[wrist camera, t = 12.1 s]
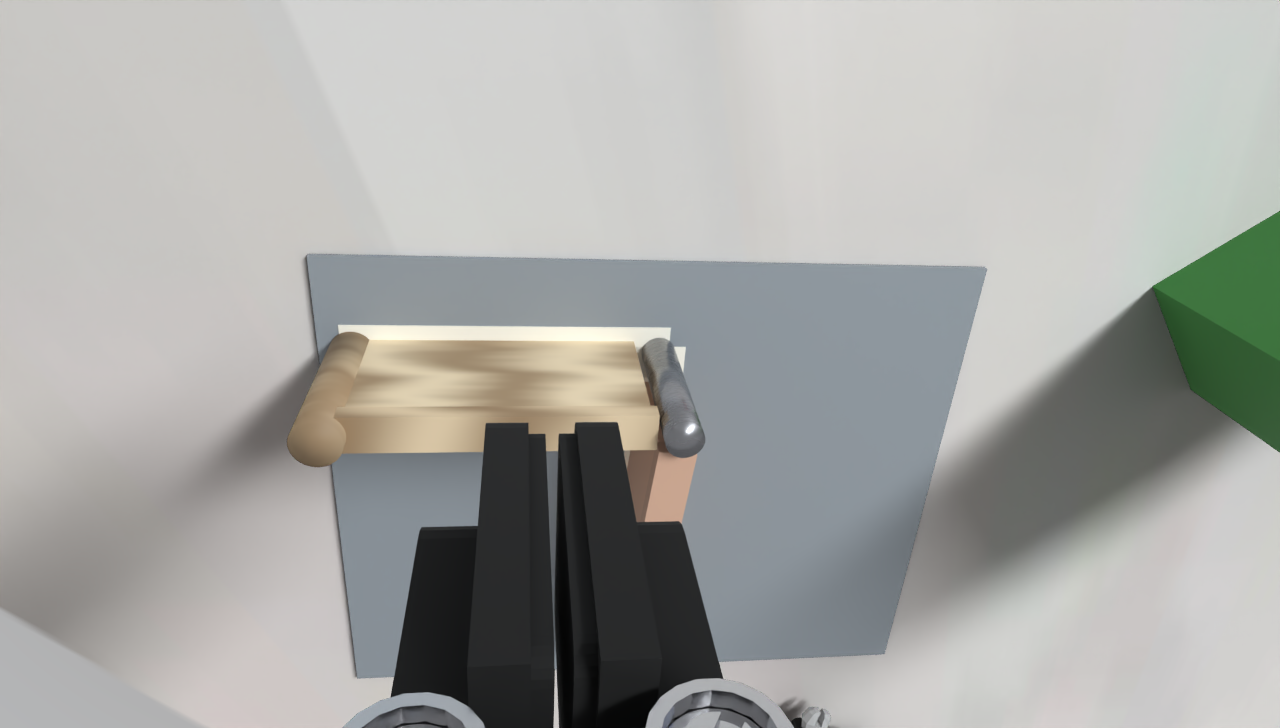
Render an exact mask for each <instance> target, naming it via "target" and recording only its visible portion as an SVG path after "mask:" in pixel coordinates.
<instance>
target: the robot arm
mask: <svg viewBox="0 0 1280 728" xmlns="http://www.w3.org/2000/svg"><path fill="white" fill-rule="evenodd" d="M554 614H555V641H556V663H557V686H558V709H559V728H794V727H793V725H792V723H791V722H790V721H789V719H788V718H787V716H786V715H785V714H784V712H783V711H782V709H781V708H780V707H779V706H778V705H777V704H775V703H774V702H773V701H772V700H771V699H769V698H768V697H767V696H766V695H764V694H763V693H762V692H760V691H758V690H755V689H753V688H751V687H749V686H747V685H745V684H743V683H740V682H735V681H730V680H725V679H723V676H722V672H721V669H720V665H719V661H718V657H717V653H716V650H715V646H714V642H713V638H712V634H711V630H710V627H709V623H708V619H707V615H706V611H705V608H704V604H703V600H702V596H701V592H700V588H699V585H698V581H697V577H696V573H695V569H694V566H693V562H692V558H691V554H690V550H689V546H688V543H687V539H686V535H685V532H684V529H683V526H682V524H681V523H680V522H679V521H665V522H637V521H636V516H635V510H634V505H633V500H632V494H631V489H630V484H629V478H628V473H627V468H626V462H625V457H624V452H623V446H622V441H621V435H620V430H619V425H618V423H617V422H575V429H574V433H563V434H559V437H558V472H557V512H556V552H555V592H554ZM554 676H555V665H554V626H553V602H552V578H551V554H550V530H549V506H548V482H547V458H546V435H545V434H529V423H486V425H485V437H484V451H483V464H482V477H481V490H480V503H479V516H478V526H448V527H421V529H420V531H419V536H418V541H417V546H416V552H415V558H414V564H413V570H412V576H411V581H410V587H409V593H408V599H407V605H406V611H405V617H404V622H403V628H402V634H401V640H400V646H399V652H398V657H397V663H396V669H395V675H394V681H393V687H392V692H391V698H387V699H384V700H381V701H379V702H377V703H375V704H373V705H371V706H370V707H368V708H366V709H364V710H363V711H361V712H359V713H357V714H356V715H355V716H354V717H353V718H352V719H351V720H350V721H349V722H348V723H347V724H346V725H345V726H344V727H343V728H553V720H554Z"/></svg>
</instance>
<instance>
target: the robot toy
mask: <svg viewBox="0 0 1280 728" xmlns="http://www.w3.org/2000/svg"><path fill="white" fill-rule="evenodd" d="M830 720H831V715H830V714H829V712H828V711H827V710H826V709H823V708H822V709H821V710H820V711H819V708H818V707H809V708H808V709H807V710H806V711H805V712H804V713H803V714H802V718H795V719H793V721H792V722H791V723H792V725H793V727H794V728H828V725H829V722H830Z"/></svg>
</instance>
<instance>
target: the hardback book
mask: <svg viewBox="0 0 1280 728" xmlns="http://www.w3.org/2000/svg"><path fill="white" fill-rule="evenodd" d="M1153 289H1154V292H1155V295H1156V297H1157V300H1158V303H1159V305H1160V308H1161V311H1162V313H1163V316H1164V319H1165V321H1166V324H1167V327H1168V330H1169V332H1170V335H1171V338H1172V340H1173V343H1174V346H1175V348H1176V351H1177V354H1178V356H1179V359H1180V362H1181V364H1182V367H1183V370H1184V373H1185V375H1186V378H1187V381H1188V383H1189V386H1190V389H1191V390H1192V391H1193V392H1195V393H1196V394H1198V395H1199V396H1200V397H1202V398H1203V399H1205V400H1206V401H1208V402H1209V403H1210V404H1212V405H1213V406H1215V407H1216V408H1217V409H1219V410H1220V411H1222V412H1223V413H1225V414H1226V415H1227V416H1229V417H1230V418H1232V419H1233V420H1234V421H1236V422H1237V423H1239V424H1240V425H1242V426H1243V427H1244V428H1246V429H1247V430H1249V431H1250V432H1251V433H1253V434H1254V435H1256V436H1257V437H1258V438H1260V439H1261V440H1263V441H1264V442H1266V443H1267V444H1268V445H1270V446H1271V447H1273V448H1274V449H1275V450H1277V451H1278V452H1280V211H1279V212H1277V213H1276V214H1274V215H1272V216H1271V217H1269V218H1267V219H1266V220H1264V221H1262V222H1260V223H1259V224H1257V225H1255V226H1254V227H1252V228H1250V229H1249V230H1247V231H1245V232H1244V233H1242V234H1240V235H1238V236H1237V237H1235V238H1233V239H1232V240H1230V241H1228V242H1227V243H1225V244H1223V245H1222V246H1220V247H1218V248H1216V249H1215V250H1213V251H1211V252H1210V253H1208V254H1206V255H1205V256H1203V257H1201V258H1200V259H1198V260H1196V261H1195V262H1193V263H1191V264H1189V265H1188V266H1186V267H1184V268H1183V269H1181V270H1179V271H1178V272H1176V273H1174V274H1173V275H1171V276H1169V277H1167V278H1166V279H1164V280H1162V281H1161V282H1159V283H1157V284H1156V285H1154V286H1153Z"/></svg>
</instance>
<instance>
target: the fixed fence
mask: <svg viewBox="0 0 1280 728" xmlns="http://www.w3.org/2000/svg"><path fill="white" fill-rule="evenodd" d="M642 359H643V363H644V367H645V370H646V374H647V378H648V382H649V385H650V389H651V393H652V397H653V400H654V404H655V406H651V405H650V401H649V398H648V394H647V390H646V386H645V382H644V378H643V374H642V371H641V367H640V363H639V359H638V355H637V351H636V347H635V344H634V341H491V340H369V339H368V338H367V337H366V336H364V335H362V334H360V333H357V332H343V333H341V334H338V335H336V336H335V337H334V338H333V339H332V341H331V343H330V345H329V347H328V350H327V352H326V354H325V356H324V358H323V361H322V363H321V365H320V367H319V369H318V372H317V374H316V376H315V378H314V380H313V383H312V385H311V387H310V389H309V391H308V393H307V396H306V398H305V400H304V402H303V404H302V407H301V409H300V411H299V413H298V415H297V418H296V420H295V422H294V424H293V426H292V429H291V431H290V433H289V435H288V438H287V447H288V450H289V452H290V454H291V455H292V456H293V457H294V458H295V459H296V460H297V461H299V462H300V463H302V464H304V465H307V466H311V467H324V466H328V465H330V464H332V463H334V462H335V461H337V460H338V459H339V457H340V456H341V454H350V453H438V452H483V451H484V437H485V425H486V423H529V434H545V435H546V451H558V437H559V434H563V433H574V429H575V422H617V423H618V425H619V430H620V435H621V441H622V446H623V450H657V442H658V430H659V423H660V426H661V430H662V434H663V438H664V441H665V445H666V448H667V450H668V452H669V453H670V454H672V455H673V456H675V457H679V458H688V457H692V456H694V455H696V454H697V453H699V452H700V451H701V449H702V448H703V446H704V444H705V434H704V431H703V428H702V426H701V423H700V420H699V417H698V414H697V411H696V408H695V405H694V403H693V400H692V397H691V394H690V391H689V388H688V385H687V383H686V380H685V377H684V374H683V371H682V368H681V365H680V363H679V360H678V357H677V354H676V351H675V348H674V346H673V344H672V343H671V341H669V340H667V339H665V338H654V339H651V340H650V341H648V342H647V343H646V344H645V345H644V347H643V349H642Z"/></svg>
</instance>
